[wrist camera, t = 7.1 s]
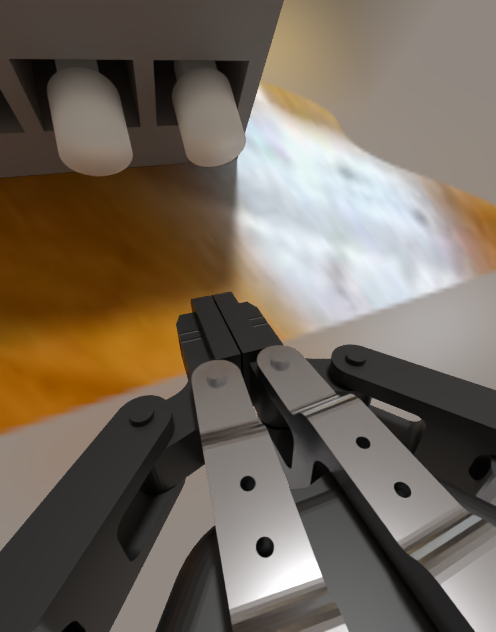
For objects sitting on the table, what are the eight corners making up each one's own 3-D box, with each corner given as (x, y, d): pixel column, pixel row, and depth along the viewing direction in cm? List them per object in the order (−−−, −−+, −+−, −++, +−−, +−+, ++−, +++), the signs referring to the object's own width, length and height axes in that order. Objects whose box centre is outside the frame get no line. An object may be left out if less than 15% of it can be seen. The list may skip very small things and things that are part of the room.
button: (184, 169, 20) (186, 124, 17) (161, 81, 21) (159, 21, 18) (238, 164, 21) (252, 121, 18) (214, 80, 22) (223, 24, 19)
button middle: (70, 178, 18) (47, 130, 15) (51, 82, 19) (25, 16, 16) (135, 173, 19) (128, 127, 16) (114, 81, 20) (103, 19, 17)
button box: (-61, 182, 21) (-348, -74, 9) (-76, 64, 22) (-341, -287, 10) (237, 158, 26) (289, -20, 15) (210, 65, 27) (239, -165, 16)
